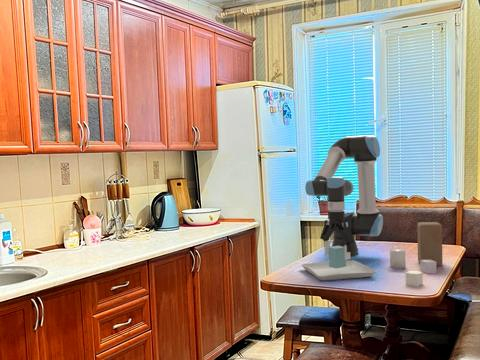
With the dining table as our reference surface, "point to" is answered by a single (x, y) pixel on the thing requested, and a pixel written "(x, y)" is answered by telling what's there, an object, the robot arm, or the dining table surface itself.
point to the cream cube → (414, 278)
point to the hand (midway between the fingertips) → (337, 257)
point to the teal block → (337, 257)
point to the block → (430, 242)
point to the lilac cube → (428, 266)
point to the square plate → (339, 270)
